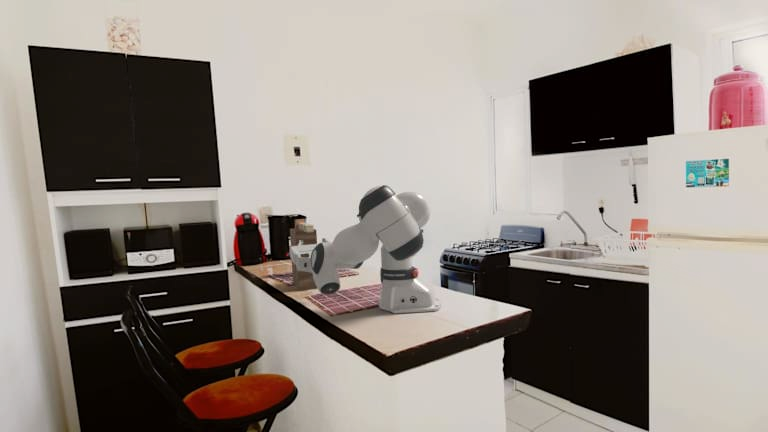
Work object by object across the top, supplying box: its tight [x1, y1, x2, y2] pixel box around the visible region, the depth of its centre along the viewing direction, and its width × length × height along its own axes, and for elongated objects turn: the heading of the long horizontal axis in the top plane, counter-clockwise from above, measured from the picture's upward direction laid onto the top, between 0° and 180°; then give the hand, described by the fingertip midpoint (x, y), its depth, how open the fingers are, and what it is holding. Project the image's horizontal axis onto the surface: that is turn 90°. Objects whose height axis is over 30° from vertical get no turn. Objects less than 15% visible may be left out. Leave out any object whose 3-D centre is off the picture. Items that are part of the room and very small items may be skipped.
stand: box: [289, 227, 318, 292], centre depth 188 cm, size 16×9×26 cm, turn 22°
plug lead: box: [294, 218, 314, 233], centre depth 183 cm, size 25×4×4 cm, turn 22°
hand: (312, 240), depth 167 cm, fingers open, 8 cm apart
